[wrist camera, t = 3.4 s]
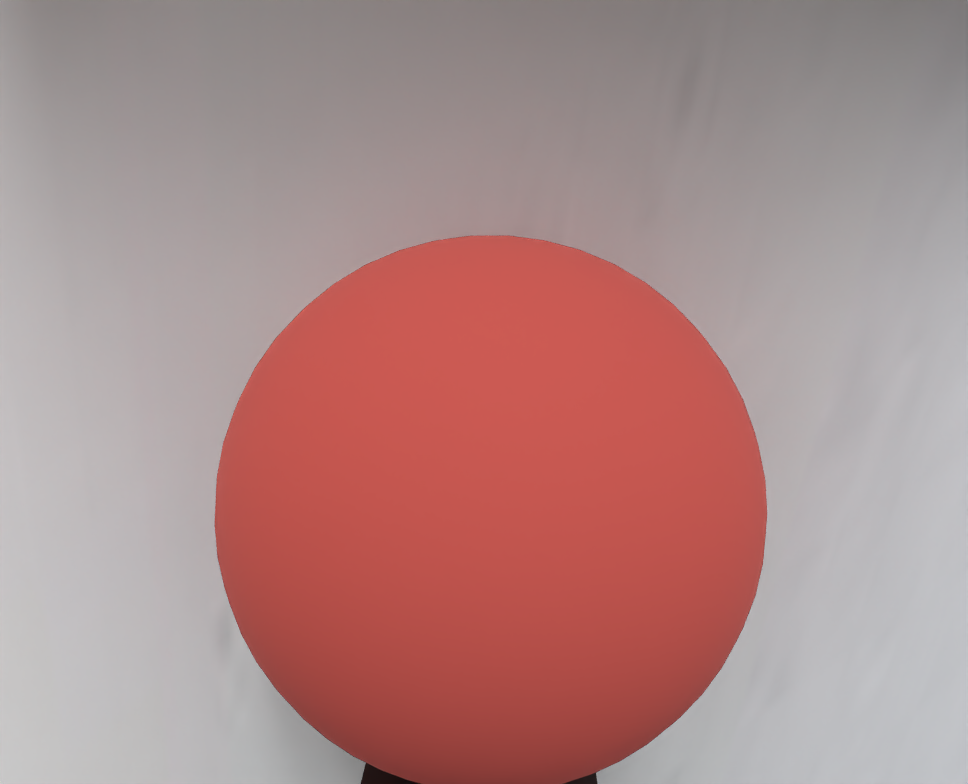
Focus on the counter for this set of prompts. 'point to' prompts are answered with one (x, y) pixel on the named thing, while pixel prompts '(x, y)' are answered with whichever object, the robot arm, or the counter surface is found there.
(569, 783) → the robot arm
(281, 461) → the ball
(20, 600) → the counter surface
